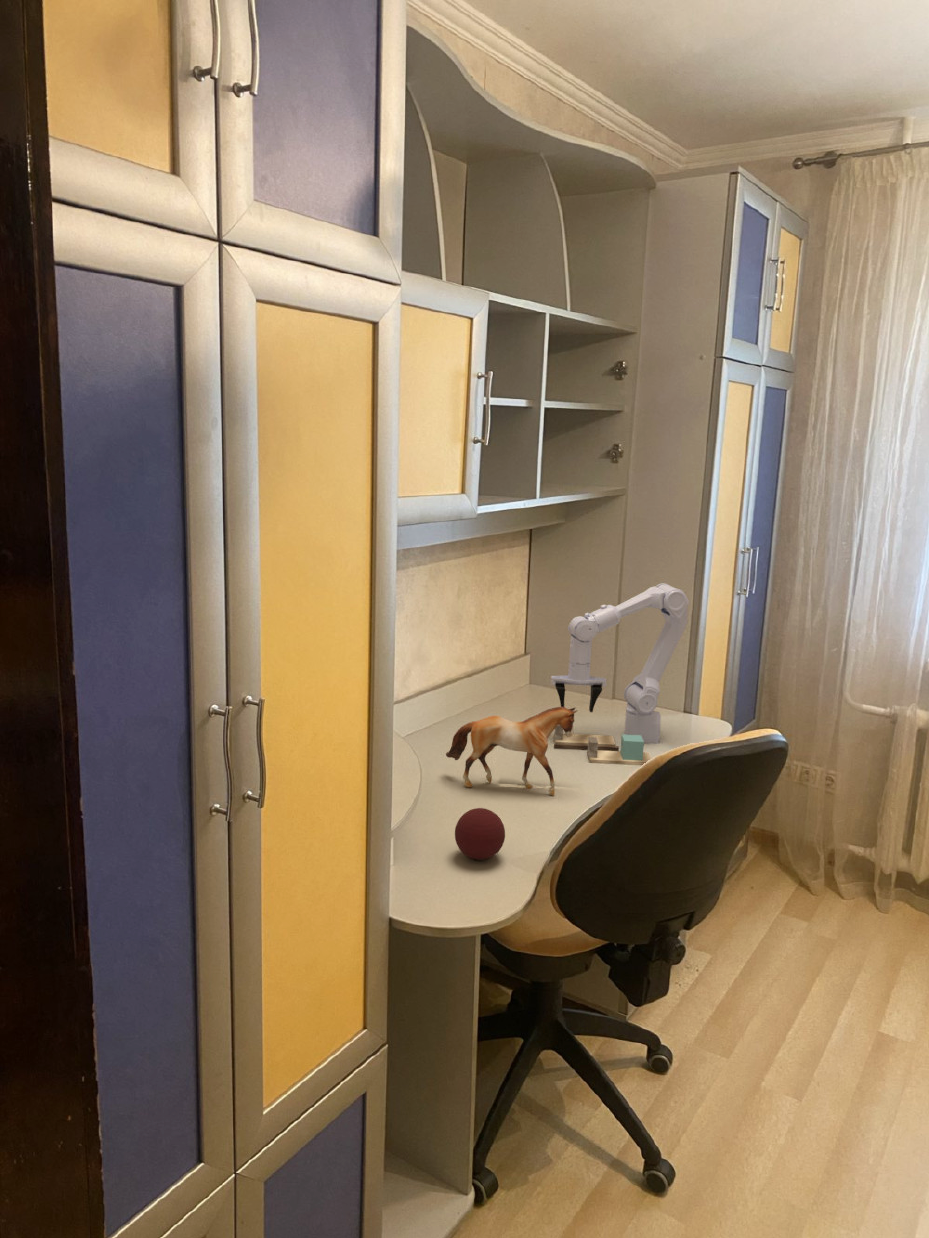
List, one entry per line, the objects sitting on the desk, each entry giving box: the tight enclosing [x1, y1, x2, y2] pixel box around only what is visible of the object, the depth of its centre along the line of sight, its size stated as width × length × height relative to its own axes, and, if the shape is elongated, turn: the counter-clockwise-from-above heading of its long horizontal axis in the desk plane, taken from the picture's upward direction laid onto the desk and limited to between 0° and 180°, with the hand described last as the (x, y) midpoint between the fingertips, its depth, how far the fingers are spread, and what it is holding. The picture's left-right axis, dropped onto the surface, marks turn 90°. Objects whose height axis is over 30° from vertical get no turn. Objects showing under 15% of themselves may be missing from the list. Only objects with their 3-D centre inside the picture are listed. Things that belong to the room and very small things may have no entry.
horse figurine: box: [445, 706, 578, 796], centre depth 216 cm, size 31×8×21 cm, turn 78°
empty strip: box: [553, 725, 616, 746], centre depth 248 cm, size 16×7×5 cm, turn 88°
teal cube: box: [619, 733, 645, 760], centre depth 236 cm, size 5×5×5 cm
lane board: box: [553, 742, 620, 751], centre depth 243 cm, size 17×22×2 cm
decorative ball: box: [454, 807, 506, 861], centre depth 182 cm, size 10×10×10 cm
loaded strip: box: [586, 737, 652, 766], centre depth 236 cm, size 16×7×5 cm, turn 88°
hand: (576, 710), depth 248 cm, fingers open, 7 cm apart
